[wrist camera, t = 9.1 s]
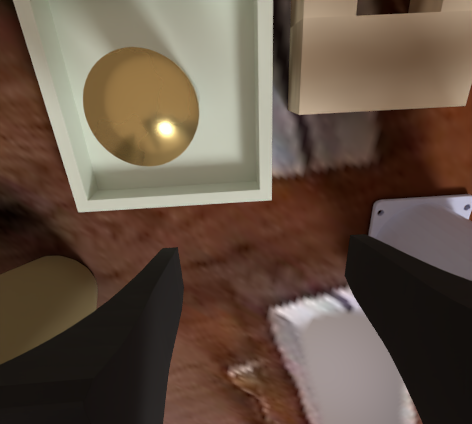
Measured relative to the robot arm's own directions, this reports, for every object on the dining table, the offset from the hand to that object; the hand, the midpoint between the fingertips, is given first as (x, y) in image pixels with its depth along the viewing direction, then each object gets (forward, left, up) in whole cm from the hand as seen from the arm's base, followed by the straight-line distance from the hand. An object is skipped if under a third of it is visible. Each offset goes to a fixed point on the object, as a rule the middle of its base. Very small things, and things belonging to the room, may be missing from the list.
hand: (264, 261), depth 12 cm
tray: (+6, +5, -10) cm, 13 cm away
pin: (+6, +4, -10) cm, 12 cm away
